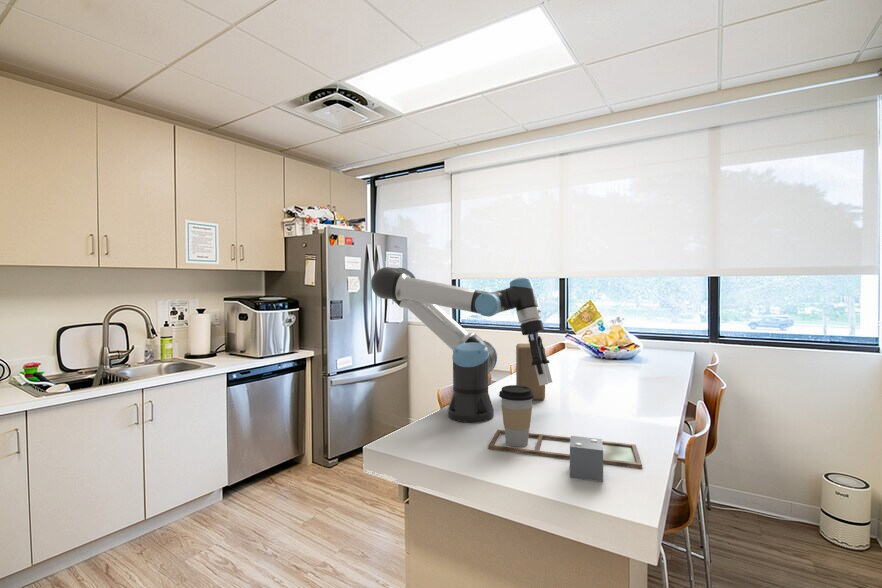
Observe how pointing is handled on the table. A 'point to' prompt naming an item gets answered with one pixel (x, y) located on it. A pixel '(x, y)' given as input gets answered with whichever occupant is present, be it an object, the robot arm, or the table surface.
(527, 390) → the coffee cup
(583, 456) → the die
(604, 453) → the wooden frame
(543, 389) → the wooden block
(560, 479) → the table surface
